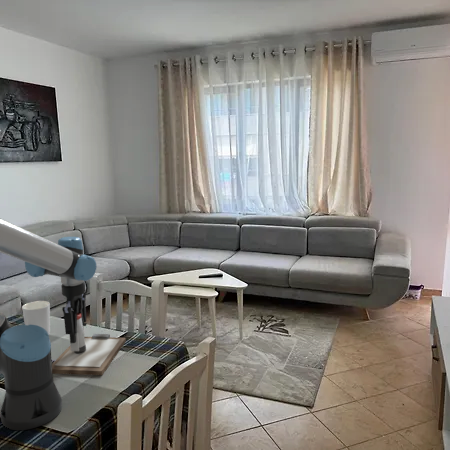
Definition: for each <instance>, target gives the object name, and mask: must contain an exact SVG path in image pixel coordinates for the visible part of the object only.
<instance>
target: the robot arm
mask: <svg viewBox="0 0 450 450" xmlns="http://www.w3.org/2000/svg"><path fill="white" fill-rule="evenodd" d="M0 253H1V254H4V255H6V256H10V257H11V258H14V259H17V260H20V261H22V262H24V269H25V271H26V272H27V274H28V275H29V276H31V277H32V278H38V277H44V276H47V275H48V276H49V275H50V276H54V277H59V278H60V283H61V285H60V286H61V295H62V296H63V297H65V298H66V301H65V303H66V306H63V307H62V313H63V320H64V330H65V335H68V336H69V346H70V348H71V351H79V339H78V332H77V313H81V316H82V317H81V318H82V325H83V331H84V332H85V327H86V326H87V323H86V322H87V307H86V306H87V305H86V301H87V295H86V294H85V293H86V282H85V281H89V280H91V279H92V278H94V276H95V275H96V274H95V273H96V271H97V262H96V260H95V258H94V257H92V256H91V255H87V254H84V248H83V240H82V238H81V237H79V236H64V237H61V238H58V240H57V243H56V242H55V241H54V242H53V241H51V240H49V239H47V238H45V237H42V236H40V235H38V234H36V233H34V232H31V231H29V230H27V229H25V228H22V227H20V226H18V225H15V224H14V223H12V222H9V221H7V220H6V219H4V218H3V219H2V218H0ZM49 335H50V334H49ZM49 335H48V332H47V331H46V330H45V329H44V328H42V327H40V326H37V325H25V324H19V325H14V326H11V325H10V322H9V321H8V319H7V317H6V315H5V313H4V312H2V311H0V374H2V375H3V379H4V388H5V393H4V397H3V401H2V405H1V408H0V422H2V423H1V425H2V424H3V425H4V426H5V427H4V426H3V425H2V426H3V427H4V428H6V427H7V428H6V429H8V428H9V429H8V430H13V431H26V430H31V429H35V428H38V427H41V426H43V425H45V424H47V423H50V422H51V421H52V420H54V419H55V418H56V417H58V415H59V414H60V413H61V411H62V408H63V402H62V401H63V400H62V396H61V394H60V392H59V390H58V388H57V385H56V383H55V382H54V375H53V374H52V364H53V362H52V344H51V340H50V336H49Z"/></svg>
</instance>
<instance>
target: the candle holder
mask: <svg viewBox="0 0 450 450" xmlns="http://www.w3.org/2000/svg"><path fill="white" fill-rule="evenodd" d="M50 305H51V303H50V302H49V301H46V300H35V301H30V302H27V303H26V304H23V305H22V306H21V309H22V310H21V311H22V315H23V322H24V325H37V326H40V327H42V328H44V329H45V330H46V331H47V332H48V335H50V333H51V309H50V308H51V306H50Z"/></svg>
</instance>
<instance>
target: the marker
mask: <svg viewBox="0 0 450 450" xmlns="http://www.w3.org/2000/svg"><path fill="white" fill-rule="evenodd" d="M81 317H82V316H81V313H77V332H78V339H79V351H74V353H82V352H85V351H86V344H85V338H84V337H85V330H84V331H83V327H84V326H83V325H82V318H81Z"/></svg>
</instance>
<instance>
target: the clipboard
mask: <svg viewBox="0 0 450 450" xmlns="http://www.w3.org/2000/svg"><path fill="white" fill-rule="evenodd" d="M84 338H85V344H86V351H85V352H82V353H74V351H71V348H70V345H69V346H68V347H67V348H66V349H65V350H64V351H63V352H62V353H61V354H60V355H59V356H58V358H56V359H55V360H54V361H53V362H52V374H54V375H77V376H78V375H79V376H80V375H81V376H103V375H104V374H105V372H106V371H107V369H108V368H109V366H110V365H111V364H112V362H113V361H114V360H115V358H116V356H117V355H118V354H119V352H120V350H121V349H122V348H123V347H124V345H125V343H126V342H127V340H126V337H113V336H111V335H110V334H109V333H107V334H106V333H105V334H104V333H93V334H92V336H84Z"/></svg>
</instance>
